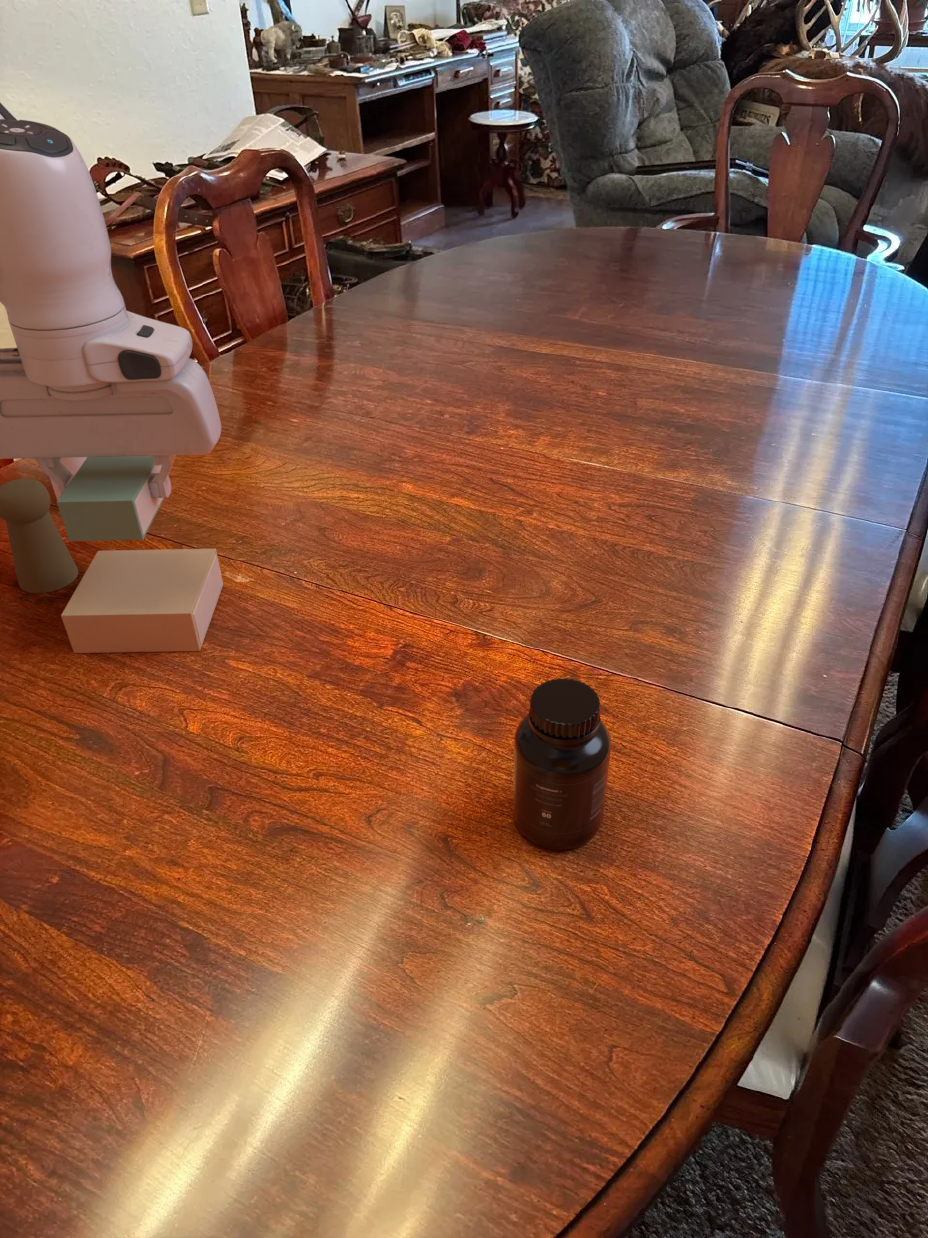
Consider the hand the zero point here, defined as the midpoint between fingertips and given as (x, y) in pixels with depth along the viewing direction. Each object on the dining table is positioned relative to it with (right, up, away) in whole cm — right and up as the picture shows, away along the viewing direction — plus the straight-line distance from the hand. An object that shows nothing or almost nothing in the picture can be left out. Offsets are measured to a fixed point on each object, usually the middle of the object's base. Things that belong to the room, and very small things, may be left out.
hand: (118, 495), depth 83 cm
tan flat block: (0, -11, +8) cm, 14 cm away
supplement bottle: (+38, -26, -13) cm, 48 cm away
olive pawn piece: (-13, -7, +14) cm, 20 cm away
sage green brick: (0, -1, +1) cm, 2 cm away
